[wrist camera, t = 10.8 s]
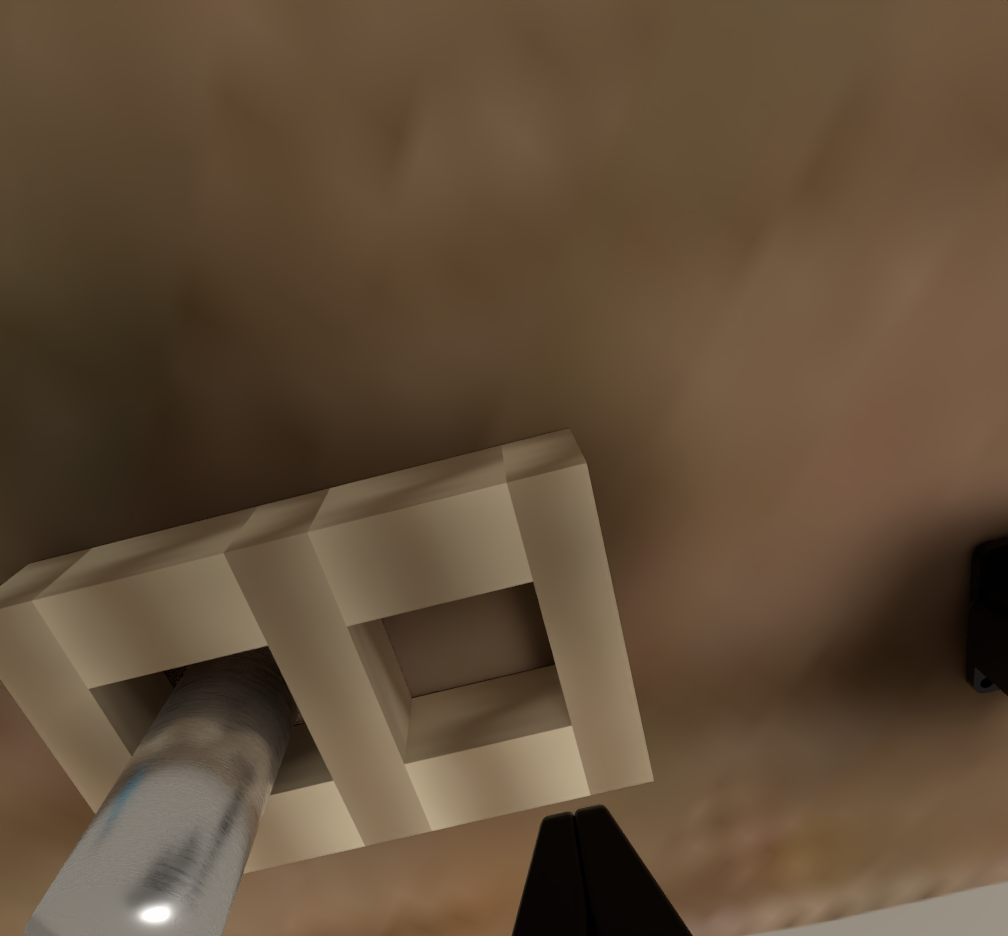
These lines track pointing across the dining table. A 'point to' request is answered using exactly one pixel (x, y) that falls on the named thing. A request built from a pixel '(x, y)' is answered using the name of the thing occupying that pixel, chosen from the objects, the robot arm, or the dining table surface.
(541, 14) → the dining table surface
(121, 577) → the frame
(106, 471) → the dining table surface
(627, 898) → the robot arm
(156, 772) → the grey cylinder
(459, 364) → the dining table surface
